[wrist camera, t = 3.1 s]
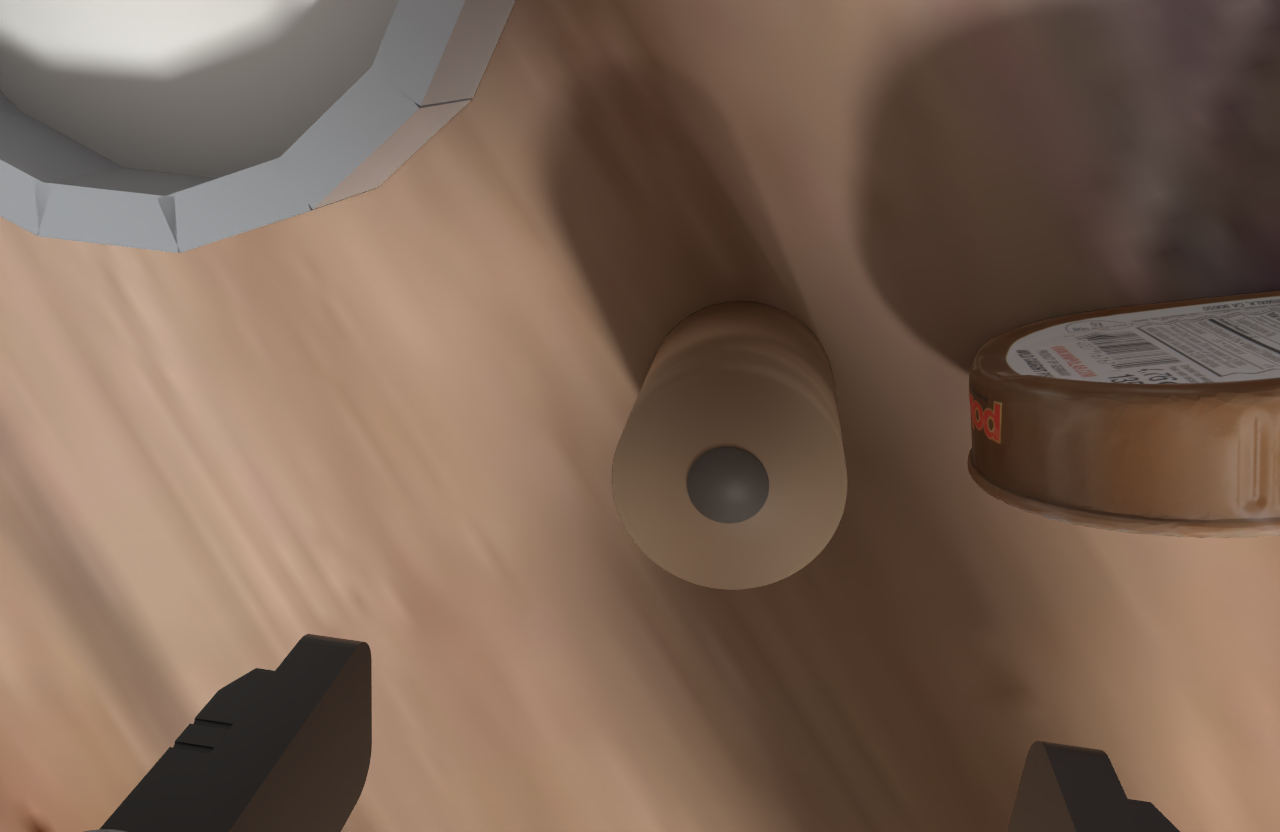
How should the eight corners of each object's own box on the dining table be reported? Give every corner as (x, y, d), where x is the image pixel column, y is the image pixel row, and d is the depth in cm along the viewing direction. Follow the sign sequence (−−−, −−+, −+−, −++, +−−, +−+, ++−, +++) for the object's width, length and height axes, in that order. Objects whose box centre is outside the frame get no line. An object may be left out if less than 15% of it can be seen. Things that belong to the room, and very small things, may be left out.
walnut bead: (847, 312, 25) (865, 389, 20) (819, 488, 27) (828, 606, 21) (657, 290, 26) (621, 359, 20) (640, 465, 27) (602, 574, 22)
